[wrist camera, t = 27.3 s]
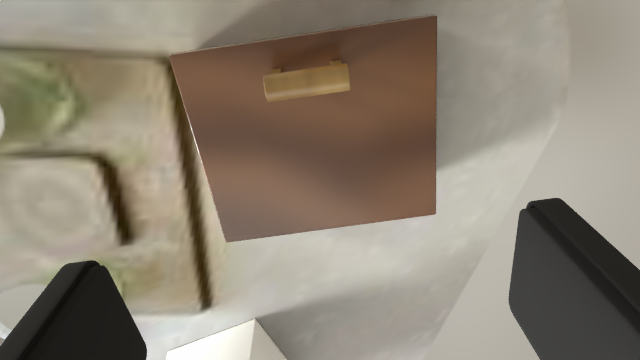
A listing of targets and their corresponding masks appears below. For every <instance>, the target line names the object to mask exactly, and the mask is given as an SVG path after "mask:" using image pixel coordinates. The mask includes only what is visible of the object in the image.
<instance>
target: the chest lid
mask: <svg viewBox="0 0 640 360" xmlns="http://www.w3.org/2000/svg"><path fill="white" fill-rule="evenodd" d="M169 58H170V61H171V65H172V68H173V71H174V74H175V78H176V81H177V84H178V87H179V91H180V94H181V97H182V100H183V104H184V107H185V110H186V113H187V117H188V120H189V123H190V126H191V130H192V133H193V136H194V139H195V143H196V146H197V149H198V152H199V156H200V159H201V162H202V165H203V169H204V172H205V175H206V178H207V182H208V185H209V188H210V191H211V195H212V198H213V201H214V204H215V208H216V211H217V214H218V217H219V221H220V224H221V227H222V230H223V234H224V237H225V240H226V242H234V241H241V240H248V239H256V238H263V237H271V236H278V235H286V234H293V233H300V232H308V231H315V230H323V229H330V228H338V227H345V226H352V225H360V224H367V223H375V222H382V221H390V220H397V219H405V218H412V217H419V216H427V215H434V214H436V86H437V16H436V15H426V16H419V17H412V18H406V19H399V20H392V21H386V22H379V23H372V24H365V25H359V26H352V27H345V28H338V29H332V30H325V31H318V32H311V33H305V34H298V35H291V36H284V37H278V38H271V39H264V40H258V41H251V42H244V43H237V44H231V45H224V46H217V47H210V48H204V49H197V50H190V51H183V52H177V53H172V54H171V55H169Z"/></svg>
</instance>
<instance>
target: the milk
mask: <svg viewBox="0 0 640 360" xmlns="http://www.w3.org/2000/svg"><path fill="white" fill-rule="evenodd" d="M166 360H287V359H286V358H285V356H284V355H283V354H282V352H281V351H280V350H279V349H278V347H277V346H276V345H275V343H274V342H273V341H272V340H271V338H270V337H269V336H268V334H267V333H266V332H265V331H264V329H263V328H262V327H261V325H260V324H259V323H258V322H257V320H256V319H253V320H251V321H248V322H245V323H243V324H240V325H237V326H235V327H232V328H229V329H227V330H224V331H221V332H219V333H216V334H213V335H211V336H208V337H205V338H203V339H200V340H197V341H195V342H192V343H189V344H187V345H184V346H181V347H178V348H176V349H173V350H170V351H168V353H167V357H166Z"/></svg>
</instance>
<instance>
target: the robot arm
mask: <svg viewBox="0 0 640 360" xmlns="http://www.w3.org/2000/svg"><path fill="white" fill-rule="evenodd" d="M509 305H510V309H511V311H512V313H513V315H514V317H515V318H516V320H517V322H518V324H519V325H520V327H521V329H522V330H523V332H524V334H525V335H526V337H527V339H528V340H529V342H530V344H531V345H532V347H533V349H534V350H535V352H536V353H537V355H538V357H539V358H540V360H640V270H639V269H638V268H637V267H636V266H634V265H633V264H632V263H631V262H630V261H629V260H628V259H627V258H626V257H624V255H622V254H621V253H620V252H619V251H618V250H617V249H616V248H615V247H614V246H613V245H611V244H610V243H609V242H608V241H607V240H606V239H605V238H604V237H603V236H601V235H600V234H599V233H598V232H597V231H596V230H595V229H594V228H593V227H591V226H590V225H589V224H588V223H587V222H586V221H585V220H584V219H583V218H581V216H579V215H578V214H577V213H576V212H575V211H574V210H573V209H572V208H570V207H569V206H568V205H567V204H566V203H565V202H564V201H563V200H561V199H559V198H552V199H544V200H537V201H531V202H529V203H528V205H527V207H526V209H522V210H521V211H520V214H519V220H518V228H517V236H516V244H515V252H514V259H513V267H512V275H511V283H510V291H509ZM146 356H147V348H146V344H145V342H144V340H143V338H142V336H141V334H140V332H139V330H138V328H137V326H136V324H135V322H134V320H133V318H132V316H131V315H130V313H129V311H128V309H127V307H126V305H125V303H124V301H123V299H122V297H121V295H120V293H119V291H118V289H117V287H116V285H115V283H114V281H113V279H112V277H111V275H110V273H109V271H108V270H107V268H106V267H105V266H100V265H99V263H98V262H96V261H92V260H91V261H84V262H76V263H69V264H66V265H64V266H63V267H62V268H61V269H60V271H59V272H58V273H57V274H56V276H55V277H54V278H53V279H52V281H51V282H50V283H49V285H48V286H47V287H46V288H45V290H44V291H43V292H42V294H41V295H40V296H39V297H38V299H37V300H36V301H35V302H34V304H33V305H32V306H31V307H30V309H29V310H28V311H27V312H26V314H25V315H24V316H23V318H22V319H21V320H20V321H19V323H18V324H17V325H16V327H15V328H14V329H13V330H12V332H11V333H10V334H9V335H8V337H7V338H6V339H5V340H4V342H3V343H2V344H1V346H0V360H146Z"/></svg>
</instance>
